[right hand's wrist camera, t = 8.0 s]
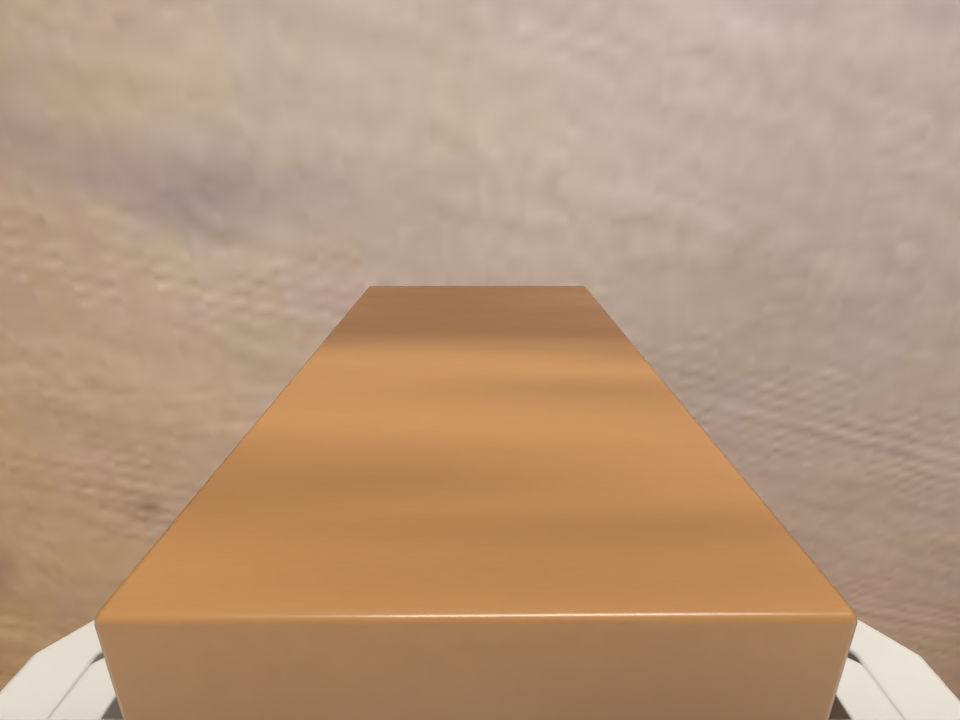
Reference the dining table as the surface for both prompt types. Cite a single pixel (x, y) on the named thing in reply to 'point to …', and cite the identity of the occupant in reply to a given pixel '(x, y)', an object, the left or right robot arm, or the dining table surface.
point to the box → (476, 541)
